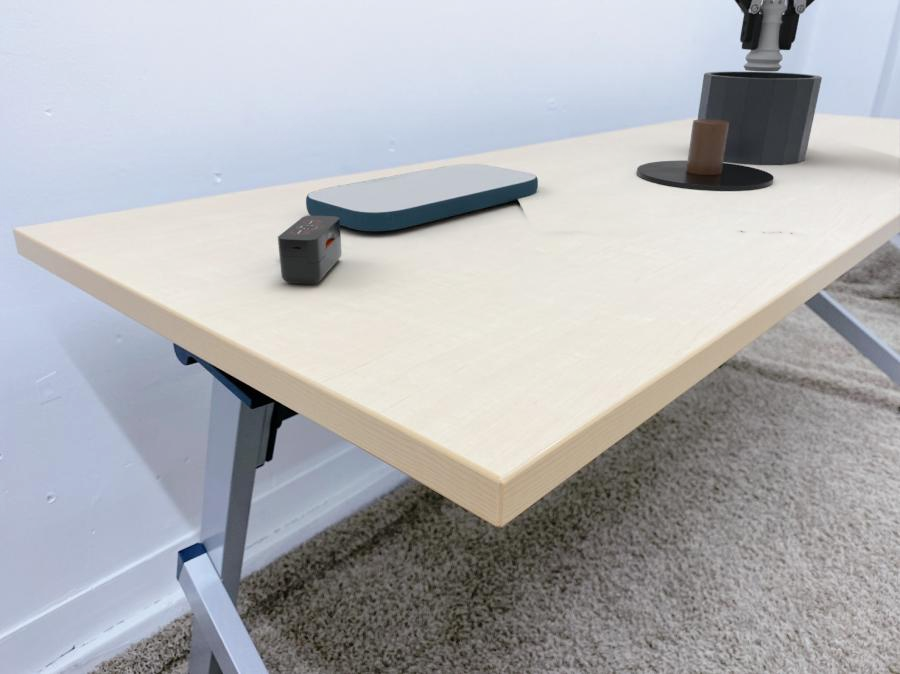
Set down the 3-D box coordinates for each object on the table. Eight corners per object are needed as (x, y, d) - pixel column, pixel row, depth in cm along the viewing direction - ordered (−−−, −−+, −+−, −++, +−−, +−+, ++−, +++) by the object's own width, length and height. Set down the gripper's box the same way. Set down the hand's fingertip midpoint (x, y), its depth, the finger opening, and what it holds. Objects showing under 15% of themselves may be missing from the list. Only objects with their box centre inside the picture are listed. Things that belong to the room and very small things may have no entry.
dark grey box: (346, 255, 54) (344, 213, 53) (319, 287, 48) (315, 240, 46) (287, 253, 55) (284, 211, 53) (252, 284, 48) (247, 237, 47)
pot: (773, 151, 100) (788, 71, 95) (823, 169, 87) (843, 79, 83) (678, 151, 99) (689, 71, 95) (714, 169, 87) (729, 78, 82)
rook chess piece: (762, 71, 86) (775, -1, 83) (734, 69, 90) (746, -1, 86) (789, 71, 88) (802, -1, 84) (761, 69, 91) (773, 0, 88)
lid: (739, 169, 87) (749, 113, 84) (796, 196, 74) (810, 130, 71) (621, 169, 86) (627, 113, 84) (657, 196, 73) (666, 130, 70)
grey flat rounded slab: (373, 241, 58) (372, 217, 57) (293, 215, 65) (291, 194, 64) (550, 195, 73) (551, 176, 72) (468, 179, 80) (468, 161, 79)
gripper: (737, -133, 76) (710, 50, 84) (887, -131, 77) (847, 51, 84) (712, -121, 83) (689, 48, 91) (849, -118, 84) (815, 49, 91)
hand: (765, 47), depth 88 cm, fingers closed on rook chess piece, 3 cm apart
